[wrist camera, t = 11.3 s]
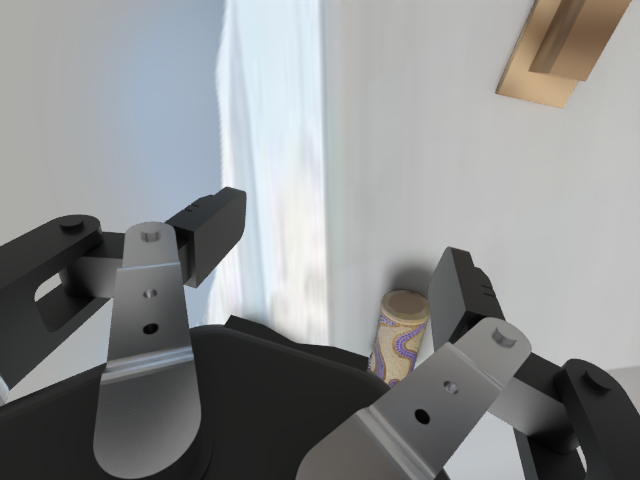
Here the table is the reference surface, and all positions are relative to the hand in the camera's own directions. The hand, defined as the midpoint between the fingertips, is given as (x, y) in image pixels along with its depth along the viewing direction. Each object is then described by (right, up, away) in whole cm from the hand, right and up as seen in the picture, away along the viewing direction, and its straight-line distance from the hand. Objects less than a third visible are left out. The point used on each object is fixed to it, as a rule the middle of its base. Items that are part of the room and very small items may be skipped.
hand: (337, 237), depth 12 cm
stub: (+22, +20, +18) cm, 35 cm away
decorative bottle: (+11, -18, +43) cm, 48 cm away
